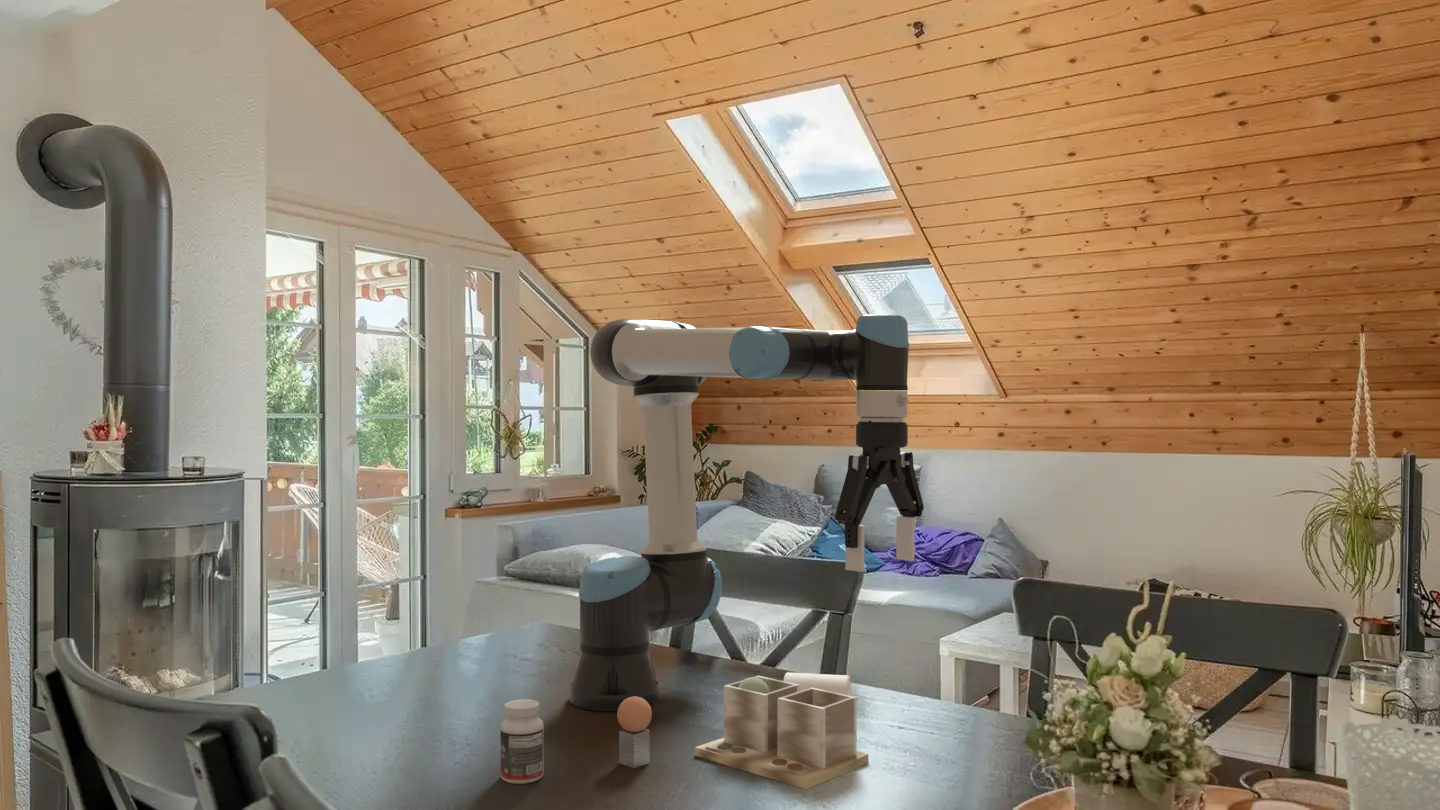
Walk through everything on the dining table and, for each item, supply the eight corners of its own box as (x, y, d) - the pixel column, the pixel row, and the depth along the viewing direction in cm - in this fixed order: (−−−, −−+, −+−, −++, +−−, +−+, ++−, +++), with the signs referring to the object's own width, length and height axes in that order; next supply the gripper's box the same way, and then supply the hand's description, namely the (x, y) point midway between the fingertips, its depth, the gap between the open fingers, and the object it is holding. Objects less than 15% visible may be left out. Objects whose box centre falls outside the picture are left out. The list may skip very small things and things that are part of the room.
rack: (694, 755, 155) (694, 691, 155) (758, 733, 165) (758, 672, 165) (806, 789, 142) (806, 718, 142) (868, 762, 152) (868, 696, 152)
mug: (846, 735, 165) (846, 682, 165) (781, 731, 167) (781, 679, 167) (853, 713, 176) (853, 664, 176) (791, 709, 178) (791, 661, 178)
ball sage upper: (740, 720, 158) (724, 691, 158) (758, 701, 162) (742, 673, 161) (763, 715, 155) (747, 686, 154) (781, 696, 158) (765, 668, 158)
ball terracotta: (609, 731, 152) (609, 697, 152) (635, 724, 155) (635, 690, 155) (633, 739, 148) (633, 703, 148) (658, 731, 152) (658, 696, 152)
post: (619, 763, 152) (619, 730, 152) (634, 758, 154) (634, 725, 154) (634, 768, 150) (634, 734, 150) (649, 763, 152) (649, 730, 152)
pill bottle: (503, 771, 149) (503, 698, 149) (545, 769, 149) (545, 697, 149) (498, 785, 143) (498, 710, 143) (541, 784, 143) (541, 709, 143)
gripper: (855, 422, 148) (854, 578, 148) (947, 419, 167) (946, 558, 167) (810, 421, 153) (809, 572, 153) (904, 418, 172) (903, 553, 172)
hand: (880, 565), depth 160 cm, fingers open, 13 cm apart
